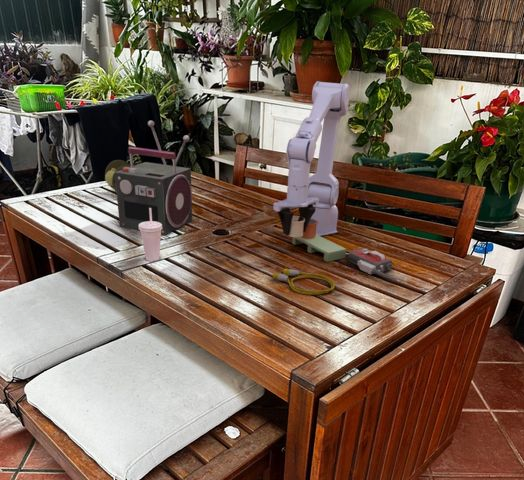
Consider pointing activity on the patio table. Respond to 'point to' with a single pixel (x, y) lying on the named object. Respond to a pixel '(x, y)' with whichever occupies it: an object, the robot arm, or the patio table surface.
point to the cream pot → (297, 226)
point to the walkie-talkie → (370, 262)
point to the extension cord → (294, 272)
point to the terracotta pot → (310, 229)
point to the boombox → (154, 190)
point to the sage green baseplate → (322, 247)
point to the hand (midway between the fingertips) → (294, 232)
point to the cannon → (113, 168)
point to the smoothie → (151, 238)
